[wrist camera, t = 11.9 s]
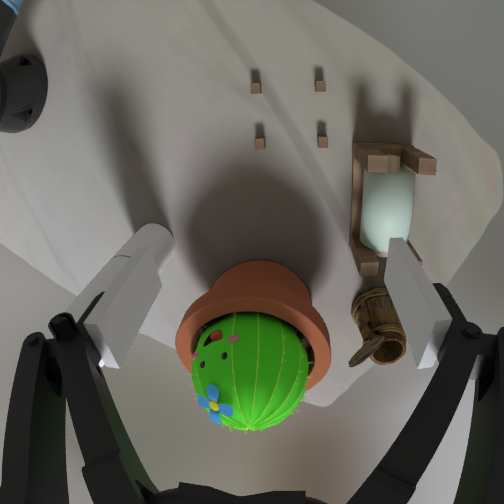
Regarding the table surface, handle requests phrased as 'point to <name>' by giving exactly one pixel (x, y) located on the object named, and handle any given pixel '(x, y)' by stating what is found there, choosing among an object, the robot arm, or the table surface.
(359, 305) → the wooden mug
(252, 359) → the potted cactus
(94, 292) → the white tapered bar
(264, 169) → the table surface
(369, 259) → the roll holder
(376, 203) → the paper roll
